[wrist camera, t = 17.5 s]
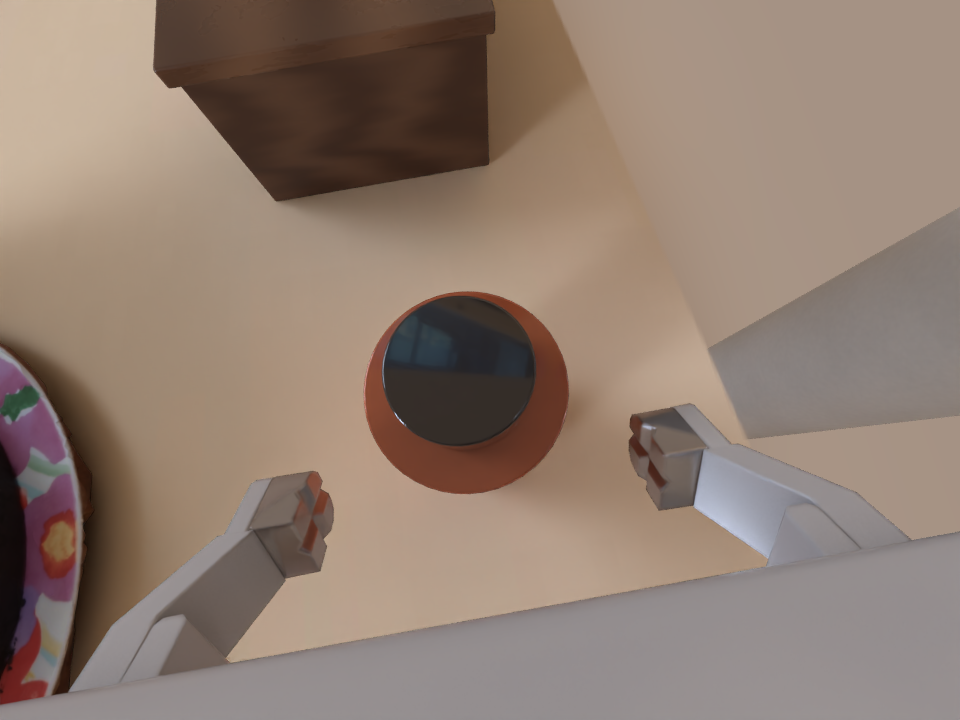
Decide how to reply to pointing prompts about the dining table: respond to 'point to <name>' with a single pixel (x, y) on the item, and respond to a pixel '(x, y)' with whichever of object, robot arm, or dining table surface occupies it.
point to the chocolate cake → (37, 536)
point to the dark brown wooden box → (334, 85)
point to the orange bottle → (466, 392)
